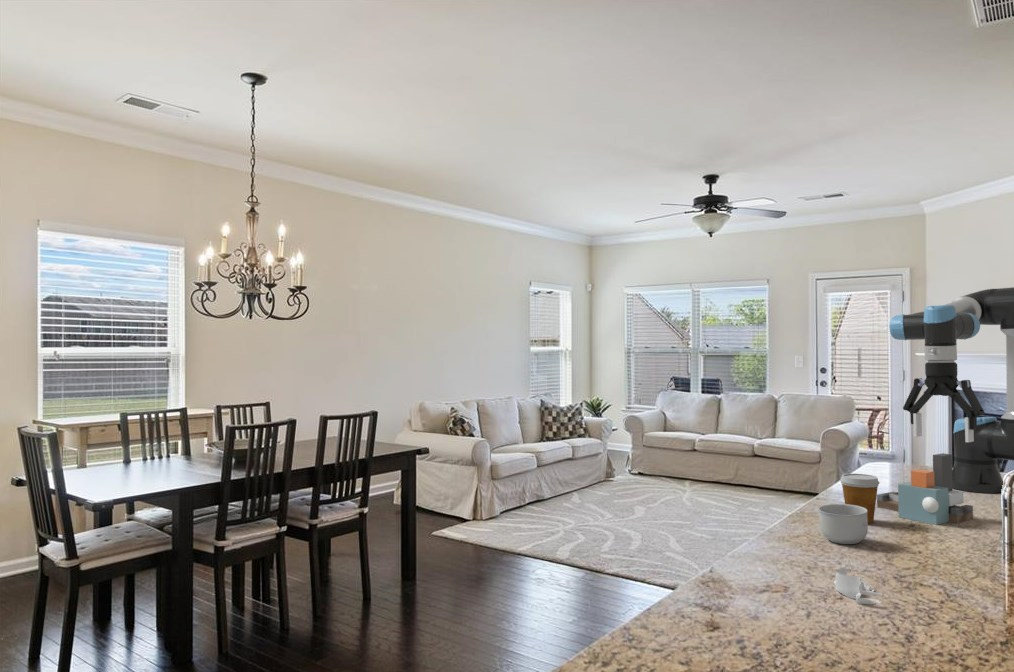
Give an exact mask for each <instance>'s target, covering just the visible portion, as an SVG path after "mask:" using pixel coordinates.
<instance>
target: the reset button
mask: <svg viewBox="0 0 1014 672" xmlns="http://www.w3.org/2000/svg"><path fill="white" fill-rule="evenodd" d="M910 482H911V486H915V487H921V488H931V487H935V484H934V471H933V470H926V469H913V470H910Z"/></svg>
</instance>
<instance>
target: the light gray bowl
mask: <svg viewBox="0 0 1014 672" xmlns="http://www.w3.org/2000/svg"><path fill="white" fill-rule="evenodd" d="M817 510H818V518H819V527H820V532H821V534H822V535H823V536H824V537H825V538H827V539H828V541H830V542H832V543H835V544H840V545H855V544H859V543H860V542H861V541H863V540H864V539H866V537H867V535H868V532H869V531H868V529H869V528H868V526H869V524H868V519H867V513H868V511H867V509H866V508H864V507H860V506H856V505H849V504H845V503H833V502H827V503H826V504H824V505H821V506H819V507H818V509H817Z"/></svg>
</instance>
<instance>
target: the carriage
mask: <svg viewBox="0 0 1014 672" xmlns="http://www.w3.org/2000/svg"><path fill="white" fill-rule="evenodd" d="M952 469H953V454H952V453H951V454H950V453H945V452H943V453H936V454H932V471H934V484H935V486H939V487H946V488H948V503H949V506H953V505H957V506H959V505H962V504H964V503H965V500H964V498H965V496H964V491H961V490H954V488H952Z"/></svg>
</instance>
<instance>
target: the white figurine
mask: <svg viewBox="0 0 1014 672" xmlns="http://www.w3.org/2000/svg"><path fill="white" fill-rule="evenodd" d="M841 566H842V567H841V568H840V569H837V570H836V571H835V580H834V581H833V584H834V585H835V590H836V591H838V592H839V593H840V594H842V595H843V596H845V597H847V598H848V599H849V598H850V599H852V600H856V603H857V604H858V605H859V604H863V605H874V604H875V605H876V603H879V604H881V603H882V601H881V600H879V599H874V598H867V597H866V598H864V597H862V595H865V596H866V595H867V596H874V597H875V596H877V597H883V593H881V592H878V590H877V589H876V588H874V589H872V587H871V585H869V584H868V583H866V582H865V581H863V580H862V579H861V578H860V577H859V576H857V575H848V573H847V569H846V565H845V564H844V563H843V562H842V563H841ZM864 589H865V590H864Z"/></svg>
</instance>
